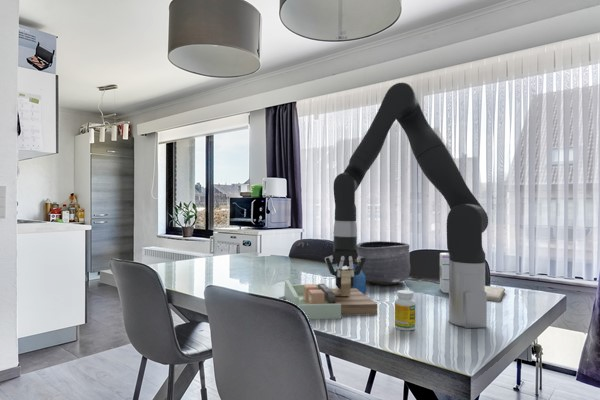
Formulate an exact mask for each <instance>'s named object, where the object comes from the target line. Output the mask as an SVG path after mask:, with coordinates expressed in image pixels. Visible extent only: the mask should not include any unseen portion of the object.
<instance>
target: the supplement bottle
mask: <svg viewBox="0 0 600 400" xmlns="http://www.w3.org/2000/svg"><path fill="white" fill-rule="evenodd" d="M396 293H397V295H396V296H397V298H396V299H395V300H394V326H395V328H396V329H397V330H400V331H413V330H415V329H416V301H415V300H414V299H413V298H414V292H413V291H412V290H406V289H405V290H404V289H403V290H397V292H396Z"/></svg>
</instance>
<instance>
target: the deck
mask: <svg viewBox="0 0 600 400" xmlns="http://www.w3.org/2000/svg"><path fill="white" fill-rule="evenodd" d="M329 289H330V290H331V291H337V290H338V288H329ZM324 298H325V296H324ZM325 299H326V298H325ZM326 300H327V299H326ZM327 301H328V300H327ZM328 302H329V303H330V304H338V303H340V304H341V316H358V315H359V316H360V315H361V316H363V315H367V316H368V315H378V304H377V302H375V301H374V300H372V298H370V297H368V296H367V295H366V294H365V293H364V294H363V293H362V292H360V291H359V290H358V289H356V288H351V294H350V296H335V301H328Z"/></svg>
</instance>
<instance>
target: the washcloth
mask: <svg viewBox="0 0 600 400" xmlns="http://www.w3.org/2000/svg"><path fill="white" fill-rule="evenodd" d="M505 291H506V288H505V287H502V286H489V285H486V284H485V292H486V293H487V302H488V301H491V302H497V303H500V302H501V300H502V299H503V296H504V295H505V294H506V292H505Z"/></svg>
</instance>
